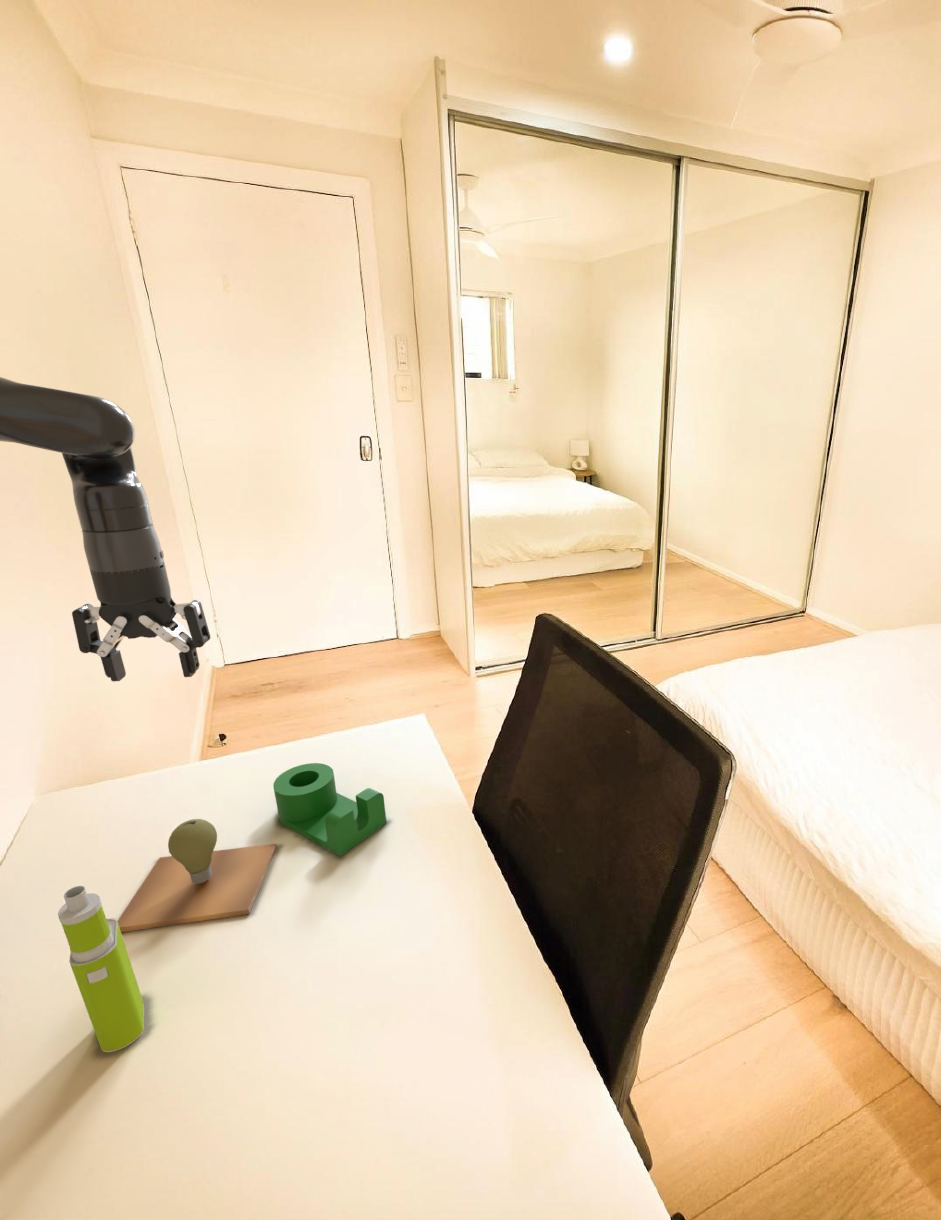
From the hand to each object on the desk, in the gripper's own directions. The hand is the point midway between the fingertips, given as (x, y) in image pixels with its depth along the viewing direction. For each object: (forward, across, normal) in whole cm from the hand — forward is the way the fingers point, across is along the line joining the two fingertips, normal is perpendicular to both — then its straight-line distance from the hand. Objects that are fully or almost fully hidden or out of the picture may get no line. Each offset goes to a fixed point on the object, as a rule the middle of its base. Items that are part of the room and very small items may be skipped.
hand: (155, 676), depth 81 cm
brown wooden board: (+30, +3, -7) cm, 31 cm away
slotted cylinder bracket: (+30, +17, +5) cm, 35 cm away
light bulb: (+30, +3, -7) cm, 30 cm away
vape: (+30, +2, -28) cm, 41 cm away
